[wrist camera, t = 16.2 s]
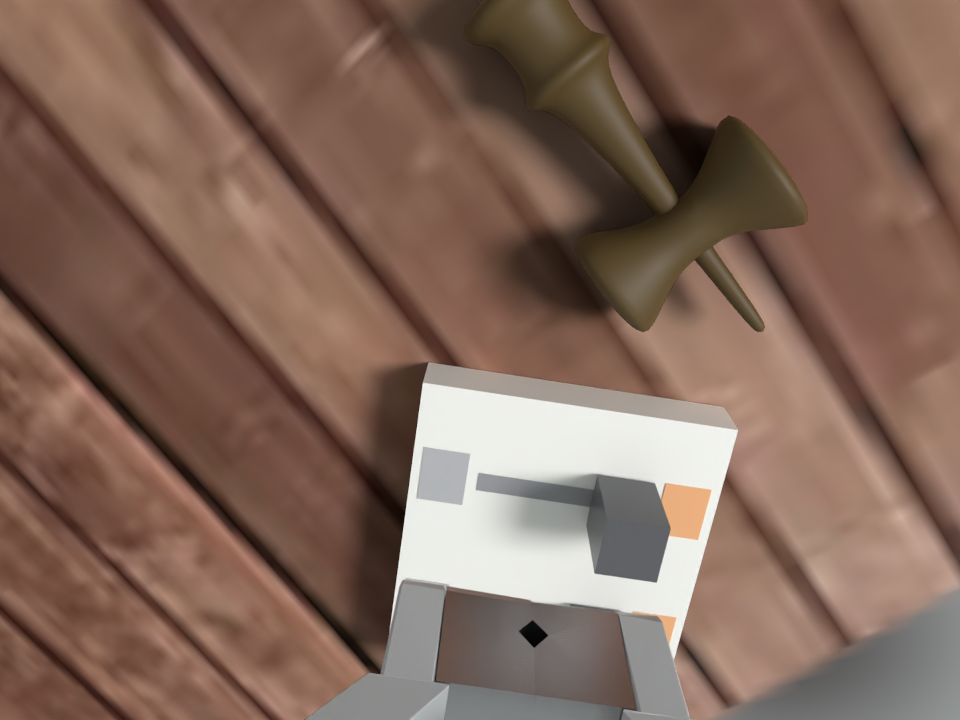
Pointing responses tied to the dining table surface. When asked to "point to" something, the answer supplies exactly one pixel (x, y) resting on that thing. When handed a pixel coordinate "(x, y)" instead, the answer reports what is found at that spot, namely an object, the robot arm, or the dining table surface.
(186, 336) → the dining table surface
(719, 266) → the kendama
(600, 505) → the block
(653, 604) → the breaker panel
